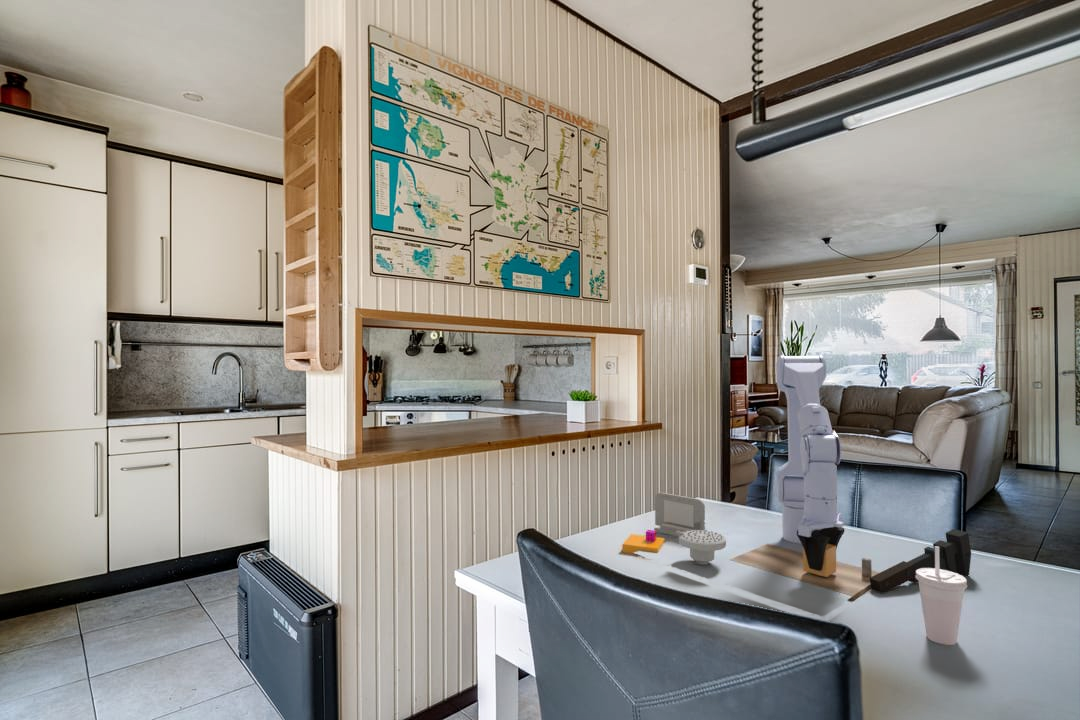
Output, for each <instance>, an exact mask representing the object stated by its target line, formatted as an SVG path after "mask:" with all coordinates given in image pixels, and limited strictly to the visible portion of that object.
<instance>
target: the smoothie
mask: <svg viewBox="0 0 1080 720" xmlns="http://www.w3.org/2000/svg"><path fill="white" fill-rule="evenodd" d="M966 578H967V577H965V576H963V575H960V574H957V573H954V572H951V571H947V570H942V569H940V567H939V547H938V546H935V568H921V569H918V570H916V579H917V580H918V581H919V582H918V587H919V588H918V589H919V594H920V600H921V602H920V603H921V606H922V607H921V608H922V612H923V613H922V614H923V621H924V622H923V623H924V628H925V633H926V637H927V639H929V640H930V641H933V642H934V643H937V644H941V645H945V646H954V645H956V644H957V642H958V634H959V629H960V623H961V622H960V621H961V614H962V607H963V600H964V594H965V593H964V592H965V589H967V588H968V581H967V579H966Z"/></svg>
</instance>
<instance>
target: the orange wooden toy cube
mask: <svg viewBox="0 0 1080 720" xmlns="http://www.w3.org/2000/svg"><path fill="white" fill-rule="evenodd" d="M802 552H803V571H806V572H810V573H814V574H817V575H821V576H824V577H828V576H829V575H831V574H833V573H835V572H836V561H837V549H836V546H835V545H831V544H827V546H826V549H825V553H824V561H823V567H822V570H821V571H818V570H814V569H810V568H809V565H808V561H807V557H806V554H805V550H804V548H803V547H802Z"/></svg>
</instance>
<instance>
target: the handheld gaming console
mask: <svg viewBox="0 0 1080 720" xmlns="http://www.w3.org/2000/svg"><path fill="white" fill-rule="evenodd" d="M705 509H706V508H705V502H704V501H703V500H701V499H700V498H695V497H690V496H684V495H678V494H672V493H667V492H659V493H657V494H655V497H654V523H655V526H658V527H654V529H653V531H654V530H655V531H656V533H659V532H660V533H659V534H663V533H664V535H667V534H668V536H671V535H672V537H675V538H679V535H678V534H676V531H680V532H684V531H689V530H694V529H695V530H703V531H705V530H707V527H706V522H705V520H706V516H705V514H706V513H705V511H706V510H705Z"/></svg>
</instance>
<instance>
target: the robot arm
mask: <svg viewBox="0 0 1080 720" xmlns="http://www.w3.org/2000/svg"><path fill="white" fill-rule="evenodd" d="M775 368H776V369H775V371H776V386H777V390H778V391H780V392H783V393H784V394H785V398H786V405H787V406H786V407H787V411H786V412H787V446H788V447H787V449H788V450H787V451H788V452H787V453H788V455H787V456H788V458H787V459H788V461H786V462H785V463H784V464H782V465H781V466H779V467H778V468H777V470H776V471H775V481H774V485H775V486H774V487H775V489H774V490H775V498H776V500H777V501H778V503H781V504H782V509H781V510H782V519H781V520H782V521H781V522H782V539H784V540H785V541H787V542H790V543H795V544H801V545H802V549H803V548H804V550H805V554H806V557H807V561H808V565H809V568H810V569H814V570H818V571H821V570H822V567H823V561H824V553H825V549H826V546H827V544H831V545H835V546H836V550H838V549H837V548H838V545H839V543H840V540H841V539H842V536H843V535H844V534H845V527H844V526H845V523H844V521H842V513H840V512H838V469H837V468H838V467H837V465H839V464H840V462H841V458H842V447H841V446H842V445H841V440H840V438H839V435H838V434H837V432H836V431H835V430H833V429H832V428H833V427H832V423H831V420H830V416H829V411H828V409H827V408H826V407H824V406H823V405H821V398H820V397H821V396H820V388H821V387H822V385H823V383H824V381H825V380H826V377H827V361H826V359H825V357H824V356H823V355H822V354H821V355H789V356H787V355H786V356H785V355H779V356H778V357H777V359H776V365H775Z"/></svg>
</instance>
